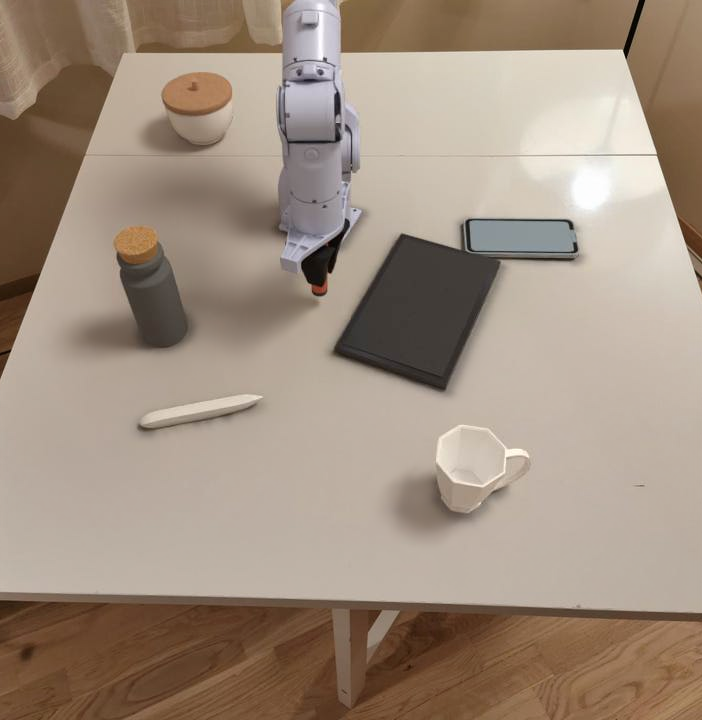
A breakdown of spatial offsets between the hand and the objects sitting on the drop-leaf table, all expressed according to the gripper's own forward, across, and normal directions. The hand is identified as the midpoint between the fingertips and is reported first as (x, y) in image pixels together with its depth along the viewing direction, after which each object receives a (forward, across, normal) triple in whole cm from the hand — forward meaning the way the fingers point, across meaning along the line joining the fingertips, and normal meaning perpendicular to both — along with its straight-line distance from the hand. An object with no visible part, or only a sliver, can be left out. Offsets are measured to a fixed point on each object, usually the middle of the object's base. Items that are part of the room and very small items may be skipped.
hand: (320, 276), depth 87 cm
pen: (+5, +21, -5) cm, 22 cm away
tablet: (+5, -4, +12) cm, 13 cm away
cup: (+5, +18, +26) cm, 32 cm away
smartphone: (+5, -21, +20) cm, 29 cm away
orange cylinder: (+3, 0, 0) cm, 3 cm away
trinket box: (+5, -26, -33) cm, 42 cm away
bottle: (+5, +12, -16) cm, 21 cm away
